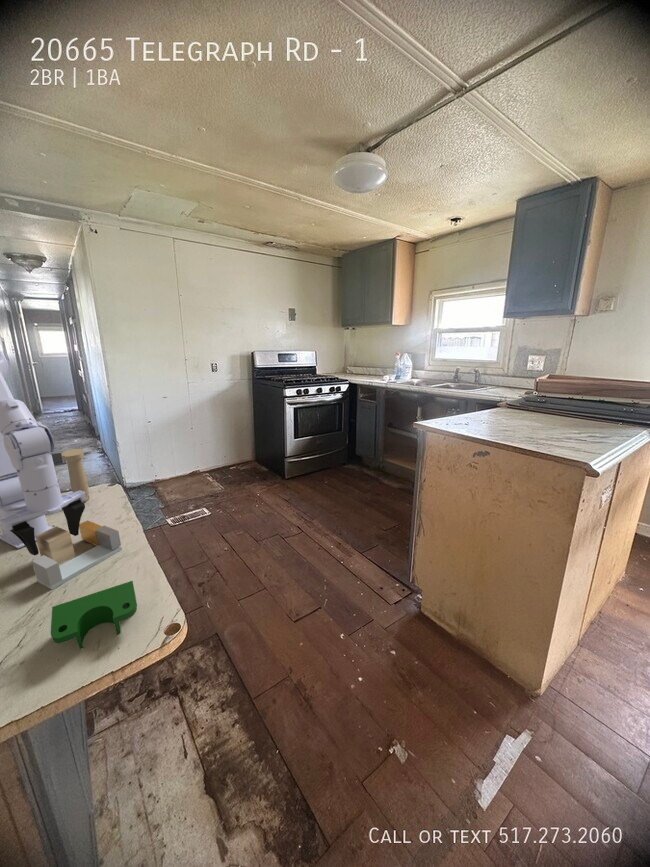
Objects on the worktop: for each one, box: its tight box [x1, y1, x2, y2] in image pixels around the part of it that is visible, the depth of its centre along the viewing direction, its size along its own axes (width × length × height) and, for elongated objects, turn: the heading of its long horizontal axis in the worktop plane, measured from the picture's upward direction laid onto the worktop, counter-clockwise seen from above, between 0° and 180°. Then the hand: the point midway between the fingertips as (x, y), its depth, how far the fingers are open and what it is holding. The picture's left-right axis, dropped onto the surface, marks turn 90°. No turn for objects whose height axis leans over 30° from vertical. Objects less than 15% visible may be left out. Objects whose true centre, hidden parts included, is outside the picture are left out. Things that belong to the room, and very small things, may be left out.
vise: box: [31, 545, 123, 590], centre depth 71 cm, size 5×14×5 cm, turn 154°
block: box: [35, 525, 76, 565], centre depth 73 cm, size 5×4×6 cm
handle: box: [61, 448, 90, 503], centre depth 96 cm, size 5×6×15 cm
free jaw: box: [79, 520, 122, 550], centre depth 77 cm, size 12×2×4 cm, turn 64°
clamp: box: [50, 580, 138, 650], centre depth 55 cm, size 12×6×9 cm, turn 116°
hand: (55, 543), depth 72 cm, fingers open, 7 cm apart
